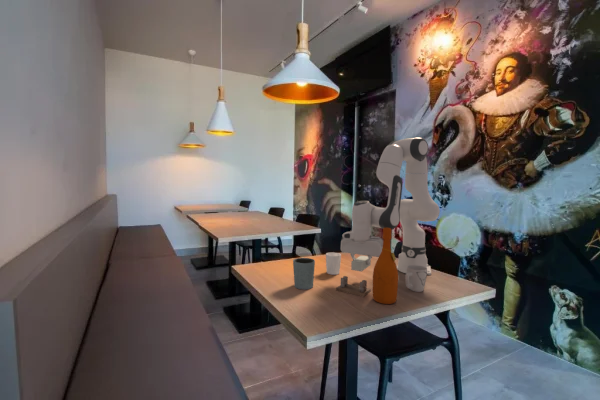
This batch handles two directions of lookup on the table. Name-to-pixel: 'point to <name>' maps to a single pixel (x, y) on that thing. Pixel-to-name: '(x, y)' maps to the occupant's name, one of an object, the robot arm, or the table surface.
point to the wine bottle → (385, 273)
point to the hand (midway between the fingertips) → (361, 263)
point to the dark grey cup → (303, 273)
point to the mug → (416, 277)
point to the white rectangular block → (359, 263)
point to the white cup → (333, 263)
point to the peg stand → (353, 287)
